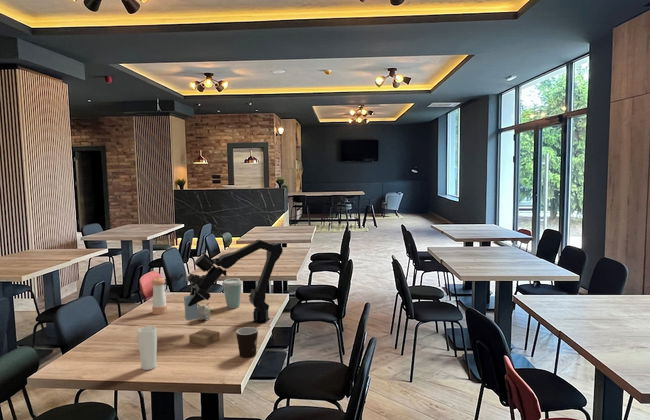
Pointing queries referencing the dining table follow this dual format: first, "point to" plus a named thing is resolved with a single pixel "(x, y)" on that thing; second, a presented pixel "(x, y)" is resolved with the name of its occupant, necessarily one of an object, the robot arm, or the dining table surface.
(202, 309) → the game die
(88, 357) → the dining table surface
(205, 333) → the walnut block
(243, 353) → the coffee mug
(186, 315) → the blue block
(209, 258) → the robot arm
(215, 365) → the dining table surface
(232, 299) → the disposable coffee cup
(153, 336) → the drinking glass
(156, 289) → the salt shaker
